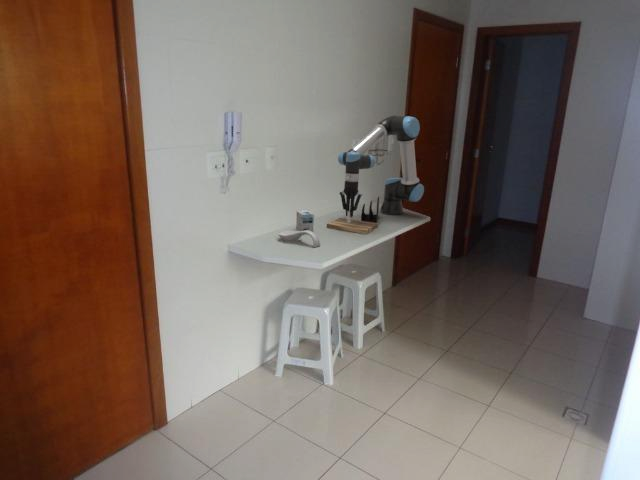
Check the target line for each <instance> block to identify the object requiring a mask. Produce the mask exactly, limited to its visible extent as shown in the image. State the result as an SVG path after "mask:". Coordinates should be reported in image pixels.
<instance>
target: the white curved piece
mask: <svg viewBox="0 0 640 480" xmlns="http://www.w3.org/2000/svg"><path fill="white" fill-rule="evenodd" d="M305 234H306V235H308V236H309V237H311V239H312V241H313V242H312V243H313V246H312V247H313V248H314V247H316V248H318V247H320V246H321V243H320V238H319V237H318V235H317V234H315V232H314V231H313V232H312V231H309V230H305V231H298V230H285V231H281V232H279V233H278V236H279V238H280V239H281V240H283V241H285V242H288V241H289V243H292V242H293V241H294V242H296V241H298V240H300V239H301V237H303V235H305Z"/></svg>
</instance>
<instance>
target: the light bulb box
mask: <svg viewBox="0 0 640 480" xmlns="http://www.w3.org/2000/svg"><path fill="white" fill-rule="evenodd" d="M314 219H315V215H314V213H313V212H310V210H308V209H307V210H305V209H304V210H303V209H299V210H298V209H297V210H296V221H295V224H296V225H295V228H296V231H305V230H309V231H312V232H313V233H314V225H315V224H314V223H315V220H314Z"/></svg>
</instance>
